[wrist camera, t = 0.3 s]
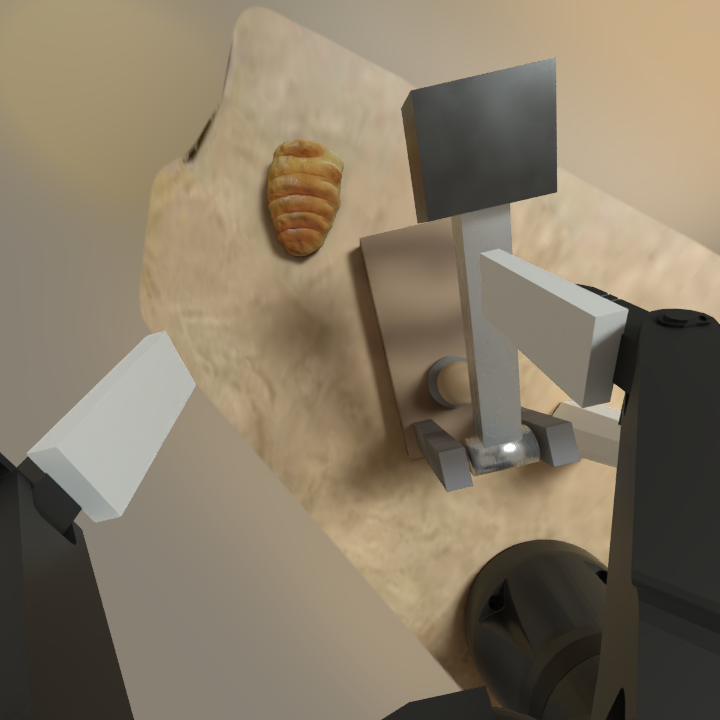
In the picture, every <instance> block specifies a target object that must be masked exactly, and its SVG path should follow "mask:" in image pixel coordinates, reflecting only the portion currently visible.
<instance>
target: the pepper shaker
mask: <svg viewBox="0 0 720 720" xmlns="http://www.w3.org/2000/svg"><path fill="white" fill-rule="evenodd" d="M620 414H621V411H620V410H617V409H614V408H612V407H609V406H606V405H603V404H599V405H595V406H590V407H586V408H581V407H580V406H579V405H578V404H577V403H576V402H575V401H574V400H570V401H564V402H561V404H560V405H559V407H558V408H557V409H556V411H555V412H554V414H553V415H552V416H553V417H556V418H560V419H563V420H566V421H570V422H572V426H573V431H574V435H575V439H576V444H577V448H578V453H579V457H581V458H584V459H588V460H591V461H595V462H598V463H602V464H605V465H609V466H612V467H616V468H617V463H618V452H619V441H620V429H621V425H618V422H619V418H620Z"/></svg>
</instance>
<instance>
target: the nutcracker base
mask: <svg viewBox="0 0 720 720" xmlns="http://www.w3.org/2000/svg"><path fill="white" fill-rule="evenodd" d="M360 249H361V253H362V257H363V262H364V266H365V270H366V275H367V279H368V283H369V288H370V292H371V296H372V301H373V305H374V309H375V314H376V318H377V322H378V327H379V331H380V335H381V340H382V344H383V349H384V353H385V357H386V362H387V366H388V370H389V375H390V379H391V383H392V388H393V392H394V396H395V401H396V405H397V409H398V414H399V418H400V422H401V427H402V431H403V435H404V440H405V444H406V448H407V453H408V455H409V457H410V459H411V461H412V460H416V459H420V458H425V459H426V461H427V462H428V464H429V465H430V467H431V468H432V470H433V471H434V473H435V474H436V476H437V477H438V479H439V480H440V482H441V483H442V485H443V486H444V488H445V489H446V491H447V492H449V491H453V490H458V489H462V488H466V487H470V486H473V483H472V478H471V474H470V469H469V465H468V461H467V456H466V452H465V448H464V446H463V445H462V439H463V438H468V437H472V436H475V430H474V420H473V411H472V402H471V393H470V384H469V375H468V366H467V357H466V348H465V339H464V330H463V321H462V312H461V303H460V294H459V285H458V276H457V267H456V258H455V248H454V239H453V230H452V221H451V217H450V218H445V219H441V220H437V221H432V222H428V223H424V224H419V225H415V226H411V227H406V228H402V229H398V230H393V231H389V232H385V233H380V234H376V235H372V236H367V237H363V238H360ZM521 424H522V425H526V426H528V427H529V428H530V429H531V431H532V432H533V434H534V436H535V438H536V440H537V442H538V445H539V449H540V459H541V460H543V461H545V462H546V463H548V464H550V465H552V466H554V467H557V466H561V465H565V464H570V463H574V462H578V461H580V457H579V453H578V448H577V444H576V439H575V435H574V431H573V426H572V422H570V421H566V420H563V419H560V418H556V417H553V416H550V415H546V414H543V413H540V412H536V411H533V410H530V409H526V408H523V407H521Z"/></svg>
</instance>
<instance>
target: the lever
mask: <svg viewBox="0 0 720 720" xmlns="http://www.w3.org/2000/svg"><path fill="white" fill-rule="evenodd" d="M401 110H402V117H403V124H404V131H405V138H406V145H407V152H408V159H409V166H410V173H411V180H412V187H413V194H414V201H415V208H416V215H417V222H418V223H423V222H429V221H434V220H438V219H442V218H447V217H451V221H452V230H453V239H454V248H455V258H456V267H457V276H458V285H459V294H460V303H461V312H462V321H463V330H464V339H465V348H466V357H467V366H468V375H469V384H470V393H471V402H472V411H473V420H474V430H475V436H472V437H468V438H463V439H462V445H463V446H464V448H465V452H466V456H467V461H468V465H469V469H470V472H471V474H472V475H473V476H479V475H483V474H488V473H492V472H496V471H501V470H505V469H509V468H514V467H518V466H522V465H527V464H531V463H535V462H538V461H539V459H540V449H539V445H538V442H537V440H536V438H535V436H534V434H533V432H532V431H531V429H530V428H529V427H528V426H526V425H522V424H521V405H520V386H519V368H518V349H517V347H516V346H514V345H513V344H512V343H511V342H510V341H509V340H508V339H507V338H506V337H505V336H504V335H503V334H502V333H501V332H499V331H498V330H497V329H496V328H495V327H494V326H493V325H492V324H491V323H490V322H489V321H488V320H487V319H485V318H484V317H483V316H482V294H481V266H480V253H483V252H487V251H491V250H495V249H501V250H503V251H505V252H507V253H509V254H511V255H512V236H511V217H510V203H512V202H516V201H521V200H525V199H529V198H534V197H538V196H542V195H547V194H551V193H555V192H557V136H556V135H557V132H556V58H551V59H547V60H543V61H538V62H534V63H530V64H525V65H521V66H516V67H513V68H508V69H504V70H499V71H495V72H490V73H486V74H482V75H478V76H473V77H468V78H465V79H460V80H455V81H451V82H447V83H442V84H438V85H434V86H429V87H425V88H420V89H416V90H412V91H410V93H409V95H408V97H407V99H406V100H405V102H404V104H403V106H402V108H401Z"/></svg>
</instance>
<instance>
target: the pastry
mask: <svg viewBox="0 0 720 720" xmlns="http://www.w3.org/2000/svg"><path fill="white" fill-rule="evenodd" d="M343 168H344V164H343V161H342V160H341V158H340V157H338V156H337V155H336V154H335V153H334V152H333V151H331V150H329V149H328V148H327V147H326V146H324V145H323V144H321V143H318V142H313V141H308V140H301V139H297V140H294V141H287V142H284V143H283V144H281V145H280V146H279V147H278V148H277V149H276V150H275V153H274V158H273V162H272V165H271V166H270V170H269V173H268V176H267V183H268V191H267V201H268V207H269V211H270V214H271V219H272V221H273V224H274V227H275V230H276V234H277V239H278V241H279V242H280V243H281V244H282V245H283V246H284V248H285V249H286V250H287V252H288V253H289V254H291V255H295V256H305V255H308V254H311V253H313V252H314V251H316V250H317V249H319V248H320V247H322V246H323V244H324V241H325V239H326V237H327V234H328V232H329V231H330V229H331V228H332V225H333V222H334V219H335V217H336V213H337V211H338V209H339V207H340V204H341V200H340V195H339V194H340V189H341V178H342V171H343Z"/></svg>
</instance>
